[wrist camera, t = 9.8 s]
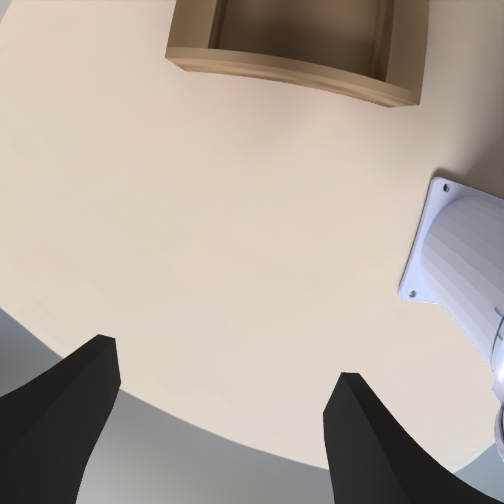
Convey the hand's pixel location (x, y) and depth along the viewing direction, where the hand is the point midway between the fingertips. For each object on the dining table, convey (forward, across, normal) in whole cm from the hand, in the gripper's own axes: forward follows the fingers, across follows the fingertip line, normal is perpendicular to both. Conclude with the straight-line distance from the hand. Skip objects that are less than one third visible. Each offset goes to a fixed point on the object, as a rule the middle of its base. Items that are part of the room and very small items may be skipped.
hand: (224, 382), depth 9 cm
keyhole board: (+10, -1, -18) cm, 20 cm away
